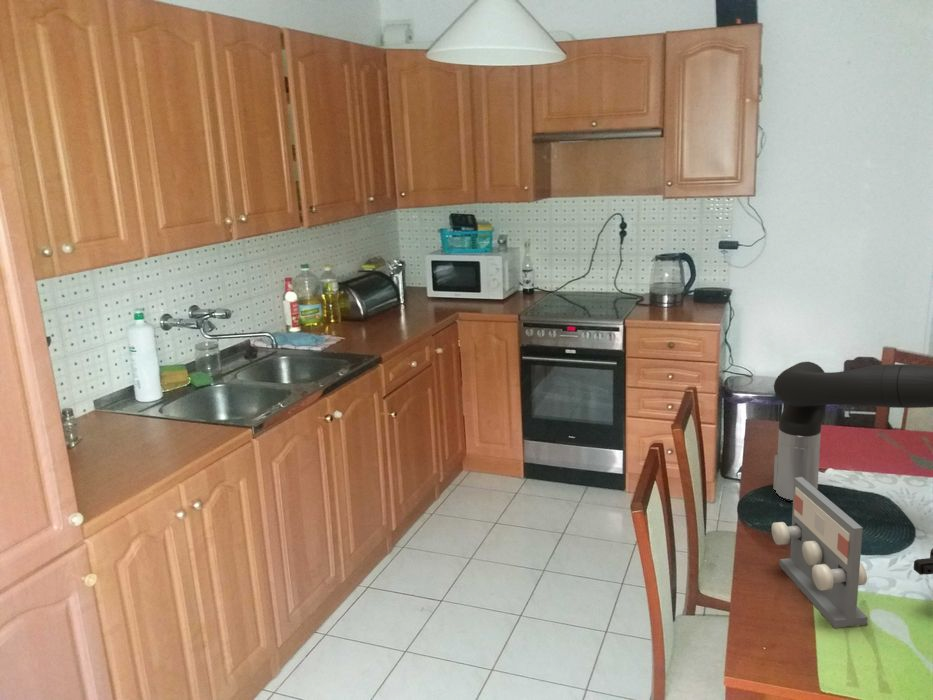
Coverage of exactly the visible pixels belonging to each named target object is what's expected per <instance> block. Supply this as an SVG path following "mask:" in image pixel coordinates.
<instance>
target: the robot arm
mask: <svg viewBox="0 0 933 700" xmlns="http://www.w3.org/2000/svg"><path fill="white" fill-rule="evenodd" d="M773 391H774V393H775V395H776V397H777V399H779V400H780V401H781V402H782V403H784V404H785V406H784V408H783V409H784V410H783V411H782V413H781V414H780V416H779V420H778V439H777V440H778V441H777V443H778V444H777V454H774V461H773V462H774V463H773V464H774V465H773V486H772V487H773V488H772V490H773V489H774V490H776V492H775V494H776V493H777V494H778V495H779V496H781V497H783V498H786V499H790V500H793V493H794V478H797V477H803V478H804V479H805V480H806V481H807V482H809V483H810V484H811V485H812V486H813V487H815V488H816V489H817V490H818V485H819V484H818V483H819V473H820V472H819V470H820V453H821V438H822V437H821V434H822V424H823V422H824V419H825V417H826V410H827V405H828V406H829V405H831V406H832V405H842V406H843V405H847V406H859V407H879V408H880V407H881V408H898V409H899V408H900V409H902V408H903V409H916V408H917V409H918V408H919V409H920V408H921V409H922V408H933V366H932V365H925V364H909V363H908V364H907V363H906V364H903V363H902V364H900V363H898V364H892V363H891V364H877V365H876V364H875V365H869V366H865V367H864V366H863V367H858V368H853V369H849V370H848V369H847V370H843V371H837V372H833V371H832V372H825V371H824V369H823V368H822V367H821V366H820V365H819V364H816V363H815V362H811V361H801V362H798V363H795V364H794V365H792V366H790V367H788V368H786V369H785V370H782V372H780V374H779V375H777V377H776V378H775V381H774V383H773ZM774 490H773V491H774ZM913 570H914V571H915V572H916V573H917V574H919V575H921V576H922V575H933V547H932V548H931V549H930V554H929V557H926V558H925V557H924V558H918V559H915V560H914V561H913Z"/></svg>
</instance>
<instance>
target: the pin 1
mask: <svg viewBox="0 0 933 700" xmlns="http://www.w3.org/2000/svg"><path fill="white" fill-rule="evenodd" d="M771 535H772V538H773V541H774V543H775V544H776V545H777V546H785V545H788V544H789V543H790V542H791V539H793V538H802V528H801V527H800V526H799V525H797V526H792V525H789V526H788V525H787V523H785V522H784V521H778V522H773V523H772V524H771Z"/></svg>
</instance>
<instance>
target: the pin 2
mask: <svg viewBox="0 0 933 700" xmlns="http://www.w3.org/2000/svg"><path fill="white" fill-rule="evenodd" d="M867 575H868V574H867V571H866V569H865V566H864V565H863V564H862V562H860V569H859V582H858V586H865V585H866V584H867V581H868V576H867ZM812 577H813V581H814V583H815V585H816V587H817V588H818V589H819V590H830V589H832V588H833V584H834V583H840V582H846V581H847V572H846V571H845V570H844V569H843V568H838V569H830V568H829V567H828V566H827V565H826V564H820V565H814V566H813V568H812Z"/></svg>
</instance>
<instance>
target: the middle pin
mask: <svg viewBox="0 0 933 700" xmlns="http://www.w3.org/2000/svg"><path fill="white" fill-rule="evenodd" d="M802 552H803V557H804V559H805V561H806V563H807V564H808V565H819V564H821V562H822V559H823V548H822V547H820V546H819V544H818V543H817V542H816V541H805V542H804V543H803V545H802Z"/></svg>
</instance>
